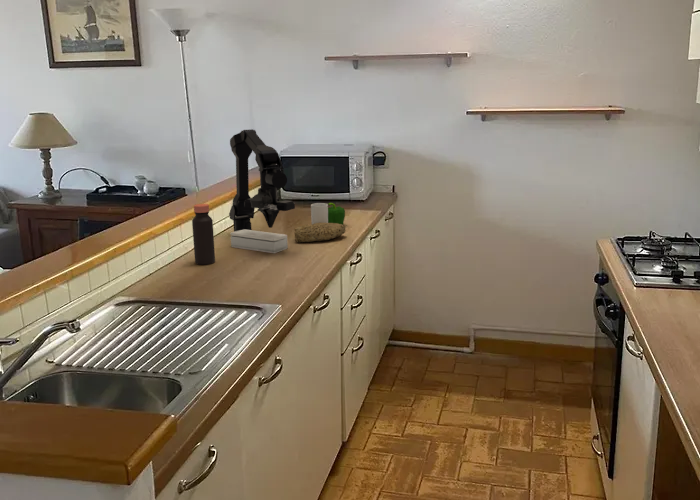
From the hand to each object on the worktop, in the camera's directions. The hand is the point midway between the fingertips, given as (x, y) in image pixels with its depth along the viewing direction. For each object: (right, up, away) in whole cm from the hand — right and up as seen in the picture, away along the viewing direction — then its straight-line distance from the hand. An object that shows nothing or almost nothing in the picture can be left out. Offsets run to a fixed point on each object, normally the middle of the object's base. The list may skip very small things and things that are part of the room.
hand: (270, 227), depth 253 cm
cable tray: (-5, -7, +5) cm, 10 cm away
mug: (+17, -2, +26) cm, 31 cm away
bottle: (-21, -13, -14) cm, 28 cm away
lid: (-5, -3, +4) cm, 7 cm away
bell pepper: (+23, +2, +39) cm, 45 cm away
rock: (+17, -4, +16) cm, 24 cm away
